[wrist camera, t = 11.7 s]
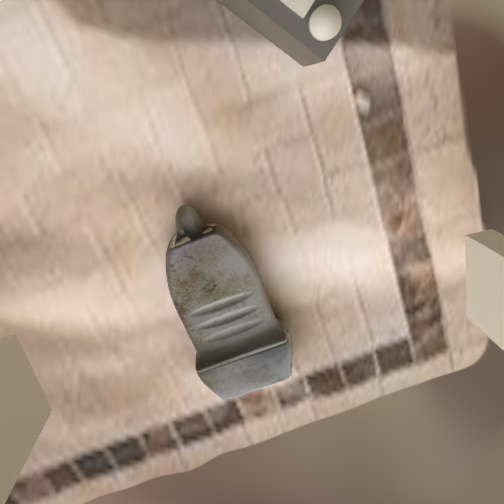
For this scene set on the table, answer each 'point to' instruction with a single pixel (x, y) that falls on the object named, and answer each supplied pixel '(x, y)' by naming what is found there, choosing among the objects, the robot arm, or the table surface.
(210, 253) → the handheld device
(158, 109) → the table surface
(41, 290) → the table surface
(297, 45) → the grey planter box
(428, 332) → the table surface
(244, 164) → the table surface
